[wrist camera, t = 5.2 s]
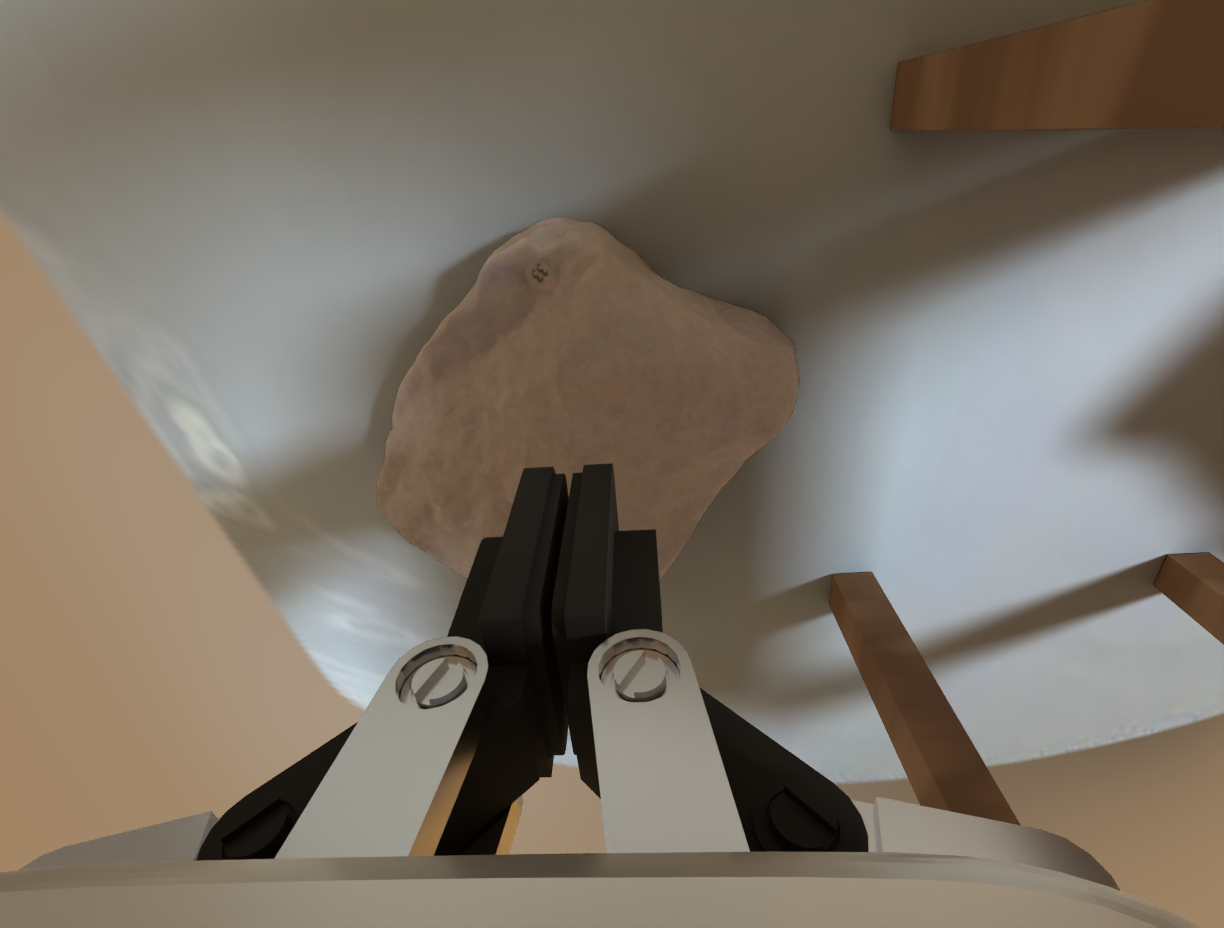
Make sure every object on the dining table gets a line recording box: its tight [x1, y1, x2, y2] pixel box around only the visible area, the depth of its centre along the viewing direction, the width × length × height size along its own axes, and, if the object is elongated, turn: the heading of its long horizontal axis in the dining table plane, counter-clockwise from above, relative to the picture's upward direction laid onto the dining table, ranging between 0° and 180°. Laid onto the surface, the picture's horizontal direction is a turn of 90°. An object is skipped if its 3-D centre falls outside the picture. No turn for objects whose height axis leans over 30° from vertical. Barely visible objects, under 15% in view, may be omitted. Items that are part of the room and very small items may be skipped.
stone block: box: [376, 217, 800, 581], centre depth 19 cm, size 12×5×10 cm
